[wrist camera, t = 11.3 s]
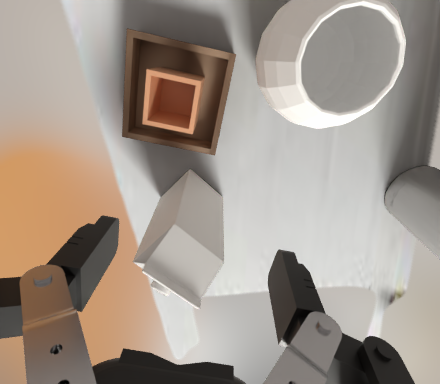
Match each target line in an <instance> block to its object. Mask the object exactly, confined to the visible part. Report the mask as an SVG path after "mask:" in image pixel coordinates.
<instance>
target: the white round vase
mask: <svg viewBox="0 0 440 384" xmlns="http://www.w3.org/2000/svg"><path fill="white" fill-rule="evenodd" d="M405 46H406V38H405V35H404V31H403V27H402V24H401V20H400V17H399V13H398V10H397V9H396V8H395V7H394V6H393V5H392V4H391V3H390V2H389V1H388V0H290V1H289V2H288V3H286V4H285V5H284V6H282V7H281V8H280V9H279V10H278V11H277V12H276V14H275V15H274V17H273V18H272V20H271V21H270V23H269V24H268V26H267V27H266V29H265V30H264V32H263V33H262V36H261V40H260V44H259V47H258V51H257V55H256V59H255V62H256V71H257V81H258V85H259V87H260V89H261V91H262V93H263V95H264V96H265V98H266V100H267V102H268V104H269V105H270V106H271V107H272V108H273V109H274V110H276V111H277V112H278V113H279V114H281V115H282V116H283V117H285V118H286V119H287V120H288V121H291V122H293V123H295V124H299V125H303V126H308V127H312V128H316V129H320V128H326V127H331V126H337V125H342V124H345V123H348V122H350V121H352V120H354V119H356V118H357V117H359V116H361V115H363V114H365V113H366V112H368V111H370V110H371V109H372V108H373V107H374V106H375V105H376V104H377V103H378V102H379V101H380V100H381V99H382V98H383V97H384V96H385V95H386V93H387V92H388V91H389V90H390V89H391V88H392V87H393V85H394V83H395V81H396V79H397V77H398V75H399V73H400V71H401V68H402V66H403V63H404V55H405Z"/></svg>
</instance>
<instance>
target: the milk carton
mask: <svg viewBox="0 0 440 384" xmlns="http://www.w3.org/2000/svg"><path fill="white" fill-rule="evenodd" d="M133 262H134V263H135V264H136V265H138V266H139V267H141V268H142V269H143V270H142V272H143V273H144V274H145V275H147V276H148V277H150V278H151V279H153V280H154V281H153V282H152V284H151V287H152V288H153V289H154V290H156V291H157V292H159V293H161V294H163V295H165V296H168V295H169V294H170V292H172V293H174V294H175V295H177V296H178V297H180V298H181V299H183V300H184V301H186V302H187V303H189V304H190V305H192V306H193V307H195V308H197V309H198V310H199V309H200V305H201V300H202V298H203V296H204V295H205V293H206V291H207V290H208V288H209V287H210V285H211V283H212V282H213V280H214V278H215V277H216V275H217V274H218V272H219V270H220V269H221V267H222V265H223V264H224V230H223V197H222V196H221V195H220V194H219V193H217V192H216V191H215V190H214V189H213V188H212V187H211V186H209V185H208V184H207V183H206V182H205V181H204V180H203V179H202V178H200V177H199V176H198V175H197V174H196V173H195V172H194V171H192V170H191V169H189V170H188V171H187V172H186V173H185V174H184V175H183V176H182V177H181V178H180V179H179V180H178V181H177V182H176V183H175V184H174V185H173V186H172V187H171V188H170V189H169V190H168V191H167V192H166V193H165V194H164V195H163V196H162V197H161V198H160V200H159V202H158V205H157V207H156V209H155V212H154V214H153V216H152V219H151V221H150V223H149V225H148V228H147V230H146V232H145V235H144V237H143V239H142V242H141V244H140V246H139V249H138V251H137V253H136V256H135V258H134V261H133Z"/></svg>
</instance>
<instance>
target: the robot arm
mask: <svg viewBox="0 0 440 384" xmlns="http://www.w3.org/2000/svg"><path fill="white" fill-rule="evenodd" d="M385 206H386V208H387V210H388V211H389V213H390V214H392V215H393V216H394V217H395V218H396V219H397V220H398V221H399V222H400V223H401V224H402V225H403V226H404V227H405V228H406V229H407V230H409V231H410V232H411V233H412V234H413V235H414V236H415V237H416V238H417V239H418V240H419V241H420V242H421V243H423V244H424V245H425V246H426V247H427V248H428V249H429V250H430V251H431V252H432V253H433V254H434V255H435V256H437V257H438V258H439V259H440V170H439V169H437V168H435V167H430V166H421V167H416V168H413V169H410V170H408V171H406V172H404V173H402V174H401V175H400V176H398V177H397V178H396V179H395V180H394V181H393V182H392V183H391V185H390V186H389V188H388V190H387V192H386V195H385ZM118 233H119V219H118V218H113V217H108V216H101V217H100V218H99V219H98V221H97V222H96V223H95V224H89V223H88V224H86V225H85V226H83V227H81V228H79V229H78V230H77V231H76V232H75V233H74V234H73V236H72V237H71V238H70V239H69V240H68V241H67V243H65V244H64V245H63V247H62V248H61V249H60V250H59V251H58V252H57V253H56V254H55V255H54V257H53V258H52V259H51V260H50V261H49V262H48V263H47V264H46V265H41V266H37V267H35V268H33V269H30V270H29V271H27V272H26V273H25V274H24V275H23V276H22V277H14V278H0V339H1V338H9V337H16V336H23V342H24V354H25V366H26V378H27V384H246V383H245V382H243V381H242V380H240V379H239V378H237V377H235V376H234V374H233V370H234V368H233V366H230V365H224V364H217V363H211V362H201V363H192V364H184V365H177V364H174V363H172V362H170V361H168V360H165V359H163V358H161V357H159V356H156V355H154V354H152V353H148V352H142V351H136V350H129V349H123V351H122V354H121V357H120V358H115V359H111V360H107V361H104V362H101V363H99V364H97V365H95V366H93V367H92V365H91V361H90V358H89V354H88V350H87V346H86V343H85V339H84V335H83V332H82V328H81V324H80V321H79V317H78V313H77V311H80V312H82V311H83V309H84V307H85V305H86V304H87V302H88V300H89V299H90V297H91V295H92V293H93V292H94V290H95V288H96V287H97V285H98V283H99V282H100V280H101V278H102V276H103V275H104V273H105V271H106V270H107V268H108V266H109V265H110V263H111V261H112V259H113V258H114V256H115V254H116V251H117V247H118ZM268 288H269V293H270V299H271V305H272V310H273V316H274V321H275V327H276V333H277V338H278V344H279V346H286V349H285V350H284V352H283V354H282V355H281V356H280V358H279V360H278V361H277V363H276V364H275V366H274V368H273V369H272V371H271V372H270V374H269V375H268V377H267V378H266V380H265V382H264V383H263V384H415V383H414V381H413V379H412V378H411V376H410V374H409V372H408V370H407V368H406V366H405V364H404V362H403V360H402V359H401V357H400V355H399V354H398V352H397V351H396V350H395V349H394V348H393V347H392V346H391V345H390V344H389V343H387V342H386V341H384V340H382V339H380V338H378V337H374V336H369V337H367V338H365V340H364V341H363V342H360V341H358V340H356V339H354V338H352V337H350V336H348V335H345V334H343V333H342V331H341V329H340V327H339V325H338V324H337V323H336V321H335V320H333V319H332V318H331V317H330V316H328V315H326V314H325V311H324V308H323V306H322V303H321V301H320V298H319V296H318V293H317V290H316V289H315V285H314V282H313V280H312V277H311V275H310V272H309V271H308V270H307V269H306V267H305V266H304V265H303V264H299V263H298V262H297V259H296V256H295V253H294V252H290V251H284V250H278V251H277V253H276V256H275V258H274V261H273V264H272V266H271V269H270V272H269V275H268Z"/></svg>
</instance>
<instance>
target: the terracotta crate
mask: <svg viewBox="0 0 440 384" xmlns="http://www.w3.org/2000/svg"><path fill="white" fill-rule="evenodd" d="M204 80H205V77H204V76H199V75H195V74H191V73H186V72H182V71H177V70H173V69H169V68H164V67H156V68H150V69H147V70H146V83H145V96H144V109H143V122H142V124H145V125H150V126H155V127H159V128H164V129H169V130H174V131H179V132H184V133H188V134H193V132H194V129H195V127H196V124H197V121H198V116H199V110H200V104H201V98H202V92H203V86H204Z"/></svg>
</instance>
